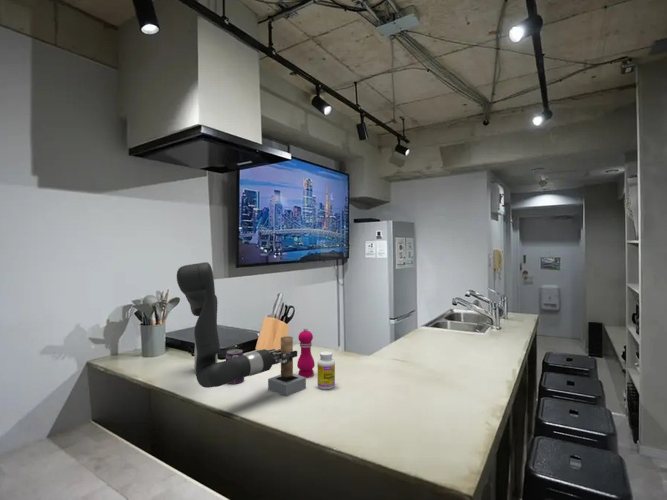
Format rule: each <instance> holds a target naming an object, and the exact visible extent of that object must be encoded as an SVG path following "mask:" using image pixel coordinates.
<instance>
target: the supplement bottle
mask: <svg viewBox="0 0 667 500" xmlns="http://www.w3.org/2000/svg"><path fill="white" fill-rule="evenodd" d="M319 357H320V358H319V359H318V360H317V387H318V388H319V389H320V390H331V389H333V388H335V386H336V371H335V370H336V367H335V365H336V363H335V360H334V359H333V352H331V351H321V352H320V353H319Z"/></svg>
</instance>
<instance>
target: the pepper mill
mask: <svg viewBox="0 0 667 500" xmlns="http://www.w3.org/2000/svg"><path fill="white" fill-rule="evenodd" d="M313 338H314V335H313V333H312V332H311V331H309V330H308V327H304V328H303V330H302V331H301V332H299V334H298V341H299V347H300V354H299V355H300V356H299V357H298V360H297V362H296V363H297V369H298V375H299V376H302V377H306V379H308V378H311V377H313V376H314V374H315V373H314V367H315V360H314V357H313V355H312V350H311V349H312V348H311V347H312V346H313V345H312V344H313V343H312V340H314V339H313Z"/></svg>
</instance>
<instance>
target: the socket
mask: <svg viewBox="0 0 667 500" xmlns="http://www.w3.org/2000/svg"><path fill="white" fill-rule="evenodd" d="M267 385H268V386H267V390H268V391H271V392H274V393H277V394H279V395H281V396H284V397H289V396H290V395H293V394H295V393H298V392H299V391H303V390H305V389H306V388H307V378H306V377H302V376H299V374H296V373H293V376H291V377H282V376H281V374H278V375H275V376H273V377H270V378H268V379H267Z"/></svg>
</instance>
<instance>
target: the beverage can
mask: <svg viewBox="0 0 667 500" xmlns="http://www.w3.org/2000/svg"><path fill="white" fill-rule="evenodd" d="M243 351H244V350H243V349H239V348H234V349H230V350H227V351H226V355H225V361H227V360H230V359H232V358H235V357H239V356H243V355H245V354H244V352H243ZM244 380H245V377H244V378H240V379H237V380H234V381H232V382H229V383H228V384H232V385H233V384H239V383H241V382H242V381H244Z"/></svg>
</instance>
